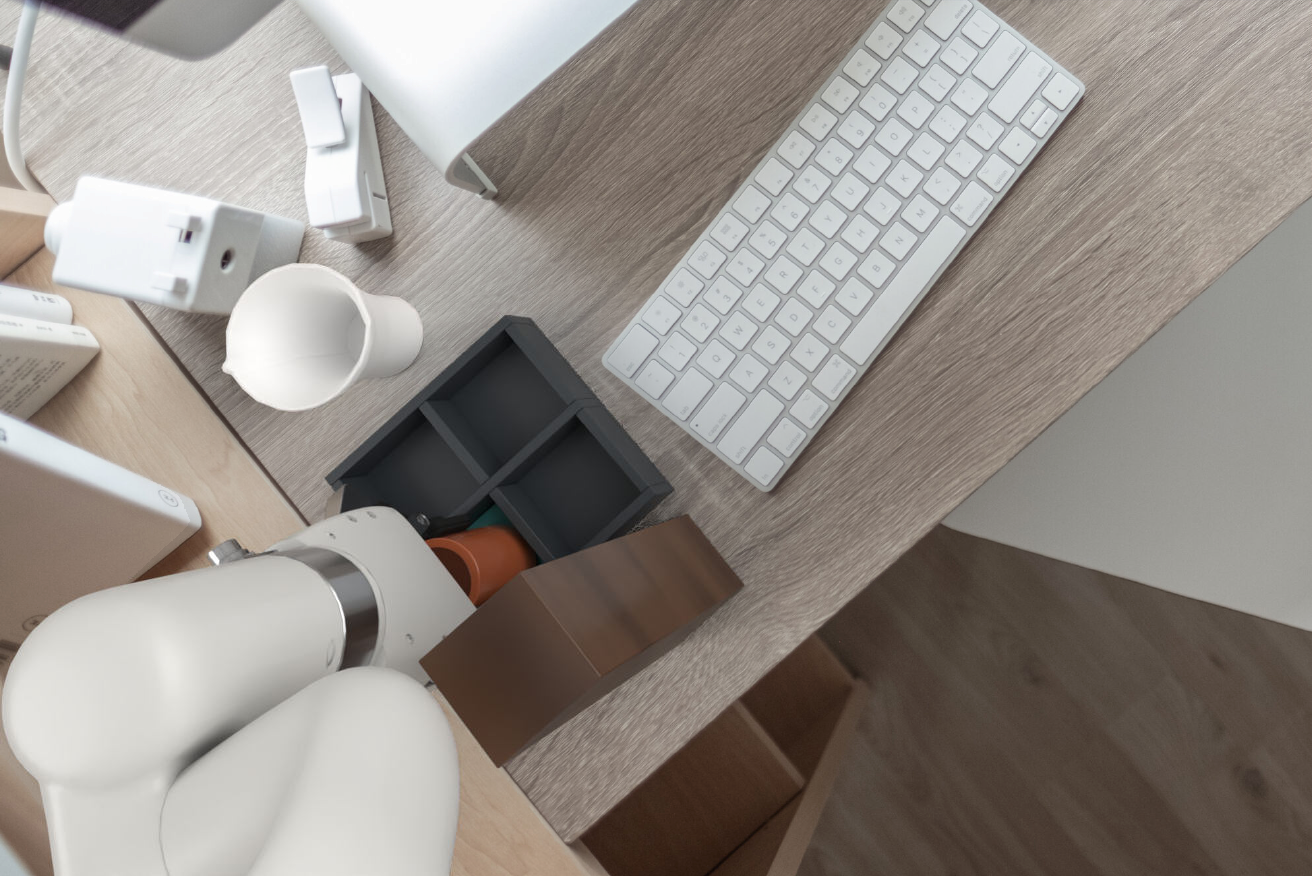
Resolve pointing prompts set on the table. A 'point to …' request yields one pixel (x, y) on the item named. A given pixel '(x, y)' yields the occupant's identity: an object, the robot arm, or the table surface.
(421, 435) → the divided tray
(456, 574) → the tumbler
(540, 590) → the brown wooden block
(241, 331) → the cup
